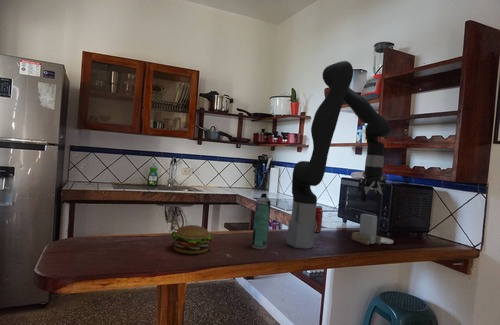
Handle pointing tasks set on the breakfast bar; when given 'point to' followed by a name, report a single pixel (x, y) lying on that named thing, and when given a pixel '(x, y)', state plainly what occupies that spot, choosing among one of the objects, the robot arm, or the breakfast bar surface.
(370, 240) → the skincare box
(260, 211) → the spray can
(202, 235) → the food
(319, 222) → the soda can
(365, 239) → the holder
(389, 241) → the coaster
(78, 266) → the breakfast bar surface
